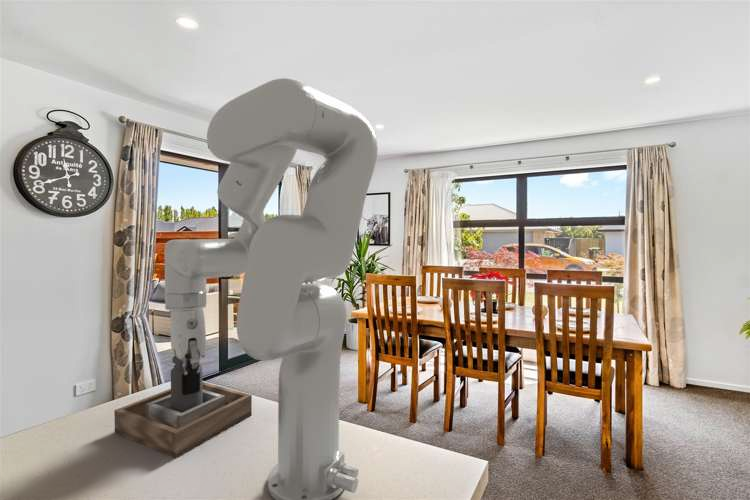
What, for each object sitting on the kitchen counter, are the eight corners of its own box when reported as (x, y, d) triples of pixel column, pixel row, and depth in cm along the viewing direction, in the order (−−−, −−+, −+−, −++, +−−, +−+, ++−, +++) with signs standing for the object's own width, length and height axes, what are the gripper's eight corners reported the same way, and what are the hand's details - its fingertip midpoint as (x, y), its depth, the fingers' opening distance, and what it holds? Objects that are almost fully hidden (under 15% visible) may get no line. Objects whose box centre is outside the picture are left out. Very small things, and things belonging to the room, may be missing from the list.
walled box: (251, 415, 83) (251, 392, 83) (175, 458, 67) (175, 430, 67) (194, 398, 91) (194, 377, 91) (114, 432, 75) (114, 407, 75)
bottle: (208, 413, 82) (207, 343, 81) (192, 427, 76) (191, 351, 75) (182, 412, 82) (181, 342, 82) (164, 425, 76) (163, 350, 76)
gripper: (218, 304, 74) (218, 397, 74) (195, 293, 87) (195, 371, 88) (174, 309, 69) (175, 408, 70) (157, 296, 83) (158, 378, 83)
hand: (186, 386), depth 79 cm, fingers open, 6 cm apart
